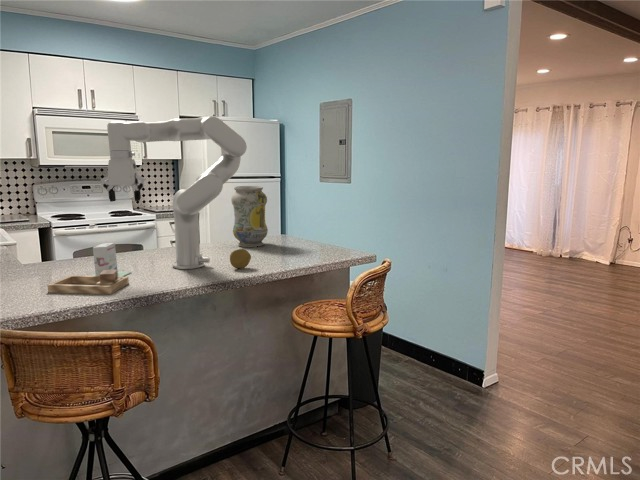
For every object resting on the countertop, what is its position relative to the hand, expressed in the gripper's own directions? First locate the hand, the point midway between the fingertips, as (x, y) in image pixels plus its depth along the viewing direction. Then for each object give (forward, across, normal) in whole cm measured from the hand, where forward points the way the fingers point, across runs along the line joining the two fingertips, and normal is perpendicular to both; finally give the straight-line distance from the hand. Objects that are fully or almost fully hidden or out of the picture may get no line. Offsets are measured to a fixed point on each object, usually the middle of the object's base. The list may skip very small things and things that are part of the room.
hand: (125, 201), depth 178 cm
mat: (+27, +5, +10) cm, 29 cm away
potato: (+29, -41, -7) cm, 51 cm away
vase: (+29, -35, -58) cm, 74 cm away
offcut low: (+28, -4, +25) cm, 37 cm away
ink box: (+27, +5, +10) cm, 29 cm away
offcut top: (+25, -4, +24) cm, 35 cm away
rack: (+27, +3, +25) cm, 37 cm away
